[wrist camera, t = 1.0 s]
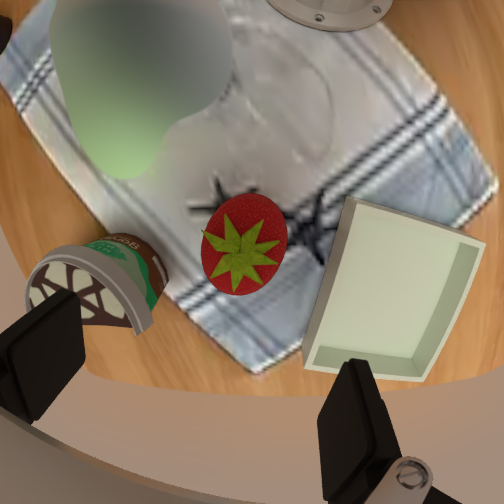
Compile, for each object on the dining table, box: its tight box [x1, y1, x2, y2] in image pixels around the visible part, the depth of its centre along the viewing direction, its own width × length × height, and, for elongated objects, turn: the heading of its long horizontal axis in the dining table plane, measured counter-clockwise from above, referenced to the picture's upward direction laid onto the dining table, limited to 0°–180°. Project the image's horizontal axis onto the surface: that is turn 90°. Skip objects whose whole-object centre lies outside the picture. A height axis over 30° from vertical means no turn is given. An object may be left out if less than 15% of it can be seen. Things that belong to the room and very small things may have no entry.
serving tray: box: [302, 196, 486, 382], centre depth 26 cm, size 15×13×4 cm
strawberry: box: [201, 193, 288, 296], centre depth 23 cm, size 6×8×10 cm
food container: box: [24, 233, 169, 337], centre depth 24 cm, size 12×6×10 cm, turn 92°
